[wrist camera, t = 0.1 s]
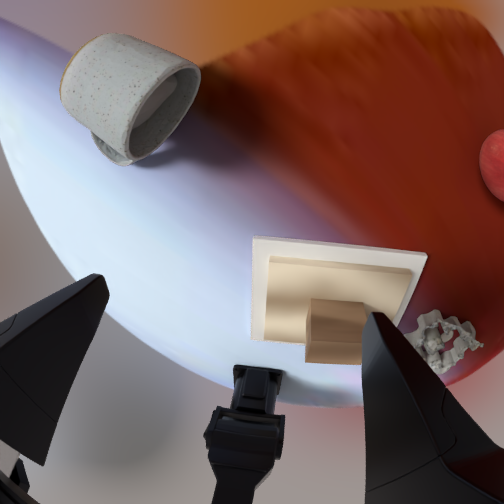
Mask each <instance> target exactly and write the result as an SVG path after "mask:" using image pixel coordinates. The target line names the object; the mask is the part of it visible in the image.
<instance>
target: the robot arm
mask: <svg viewBox="0 0 504 504" xmlns="http://www.w3.org/2000/svg"><path fill="white" fill-rule="evenodd" d="M109 296H110V294H109V290H108V287H107V284H106V281H105V278H104V276H103V275H100V274H95V273H94V274H91V275H89V276H87V277H85V278H83V279H81V280H79V281H77V282H75V283H73V284H71V285H69V286H67V287H65V288H63V289H61V290H60V291H57V292H55V293H53V294H52V295H50V296H48V297H46V298H44V299H42V300H40V301H39V302H37V303H35V304H33V305H31V306H30V307H27V308H26V309H24V310H22V311H20V312H19V313H18V314H15V315H13V316H11V317H10V318H8V319H6V320H4V321H2V322H0V504H40V503H38V502H37V501H36V500H34V499H33V498H32V497H31V496H29V495H28V494H27V493H28V490H29V487H30V485H29V482H28V478H27V475H26V472H25V468H24V464H23V461H22V460H21V459H20V458H19V455H20V453H21V454H22V455H24V456H26V457H27V458H29V459H30V460H32V461H34V462H36V463H37V464H39V465H41V466H44V464H45V461H46V457H47V454H48V450H49V447H50V444H51V441H52V438H53V435H54V432H55V429H56V426H57V422H58V420H59V417H60V414H61V412H62V409H63V406H64V404H65V401H66V399H67V396H68V394H69V391H70V388H71V386H72V384H73V381H74V379H75V377H76V374H77V372H78V370H79V367H80V365H81V363H82V361H83V359H84V356H85V354H86V352H87V350H88V348H89V345H90V343H91V342H92V340H93V337H94V335H95V333H96V331H97V328H98V325H99V323H100V320H101V318H102V315H103V312H104V310H105V308H106V305H107V303H108V300H109ZM282 374H283V372H282V371H280V370H272V369H263V368H255V367H247V366H240V365H234V367H233V375H234V393H233V397H232V401H231V406H230V409H229V408H223V407H221V406H217V408H216V410H214V411H213V414H212V418H211V421H210V423H209V425H208V427H207V429H206V430H205V432H204V435H203V437H204V438H205V440H206V448H207V449H208V450H209V452H208V459H209V462H210V464H211V467H212V469H213V472H214V474H215V477H216V479H217V484H216V488H215V491H214V496H213V500H212V504H252V502H253V497H254V491H255V490H256V489H257V488H258V487H259V486H260V485H261V484H262V483H263V482H264V480H265V479H266V478H267V477H268V476H269V475H270V473H271V471H272V469H273V466H274V462H275V460H280V457H281V454H282V448H283V439H284V427H285V426H284V425H285V415H274V410H275V402H276V395H278V394H279V390H280V385H281V380H282ZM362 389H363V402H364V418H365V441H366V486H365V487H366V488H365V491H366V492H365V504H504V449H503V448H501V447H499V446H498V445H496V444H495V443H494V442H493V441H492V440H491V439H490V438H489V437H488V435H487V434H486V433H485V432H484V431H483V430H482V429H481V428H480V426H479V425H478V424H477V423H476V422H475V421H474V420H473V419H472V418H471V416H470V415H469V414H468V413H467V412H466V411H465V410H464V408H463V407H462V406H461V405H460V404H459V402H458V401H457V400H456V399H455V397H454V396H453V395H452V393H451V392H450V391H449V390H448V389H447V388H446V386H445V385H444V383H443V382H442V381H441V380H440V378H439V377H438V376H437V375H436V373H435V372H434V371H433V370H432V368H431V367H430V366H429V365H428V364H427V362H426V361H425V360H424V359H423V357H422V356H421V355H420V354H419V353H418V352H417V350H416V349H415V348H414V347H413V346H412V344H411V343H410V342H409V341H408V340H407V339H406V337H405V336H404V335H403V334H402V333H401V332H400V330H399V329H398V328H397V327H396V326H395V325H394V324H393V322H392V321H391V320H390V319H389V318H388V317H387V316H386V315H385V314H384V313H383V312H374V311H373V312H371V313H370V314H369V316H368V319H367V321H366V323H365V326H364V328H363V331H362Z"/></svg>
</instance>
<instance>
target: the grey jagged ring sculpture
mask: <svg viewBox="0 0 504 504" xmlns="http://www.w3.org/2000/svg"><path fill="white" fill-rule="evenodd" d="M417 322H418V325H419V327H418V329H417V330H415V331H414V332H412V333H406V334H404V336H405V337H406V339H407V340H408V341H409V342H410V343H411V344H412V346H413V347H414V348H415V349H416V350H417V352H418V353H419V354H420V355H421V356H422V357H423V359H424V360H425V361H426V362H427V364H428V365H429V366H430V367H431V368H432V370H433V371H434V372H435V373H437V374H443V373H444V372H446V371H448V370H449V369H450V368H451V367H452V366H454V365H456V362H457V361H458V360H459V359H463V358H464V351H465V350H466V349H467V348H468V347H469V348H470V349H471V350H472V351H474V350H475V349H477V347H478V346H480V347H483V346H484V343H479V342H478V341H476V340H475V334H476V332H475V329H474V327H473V326H472V324H471V323H470V322H469V321H466V322H464V323H463V324H460V323H459V321H458V319H457V317H454V316H450V317H449V318H447V319H445V320H443V318H442V316H441V313H440V311H438V310H433V311H431V312H430V313H427V314H421V315H420V316H419V318H418V319H417ZM438 322H440V324H441V326H442V328H443V331H444V333H442V334H441V335H440V333H439V331H438V328H437V327H438ZM455 329H457V330H458V332H459V334H460V336H459V337H458V338H456V339H455V341H454V342H453V345H454V347H453V348H452V349H451V350H450V351H445V352H443V353H442V354H441V355H439V352H438V350H440V349H444V347H445V345H444V342H447V341H449V340H450V339H451V338H452V336H453V330H455ZM422 345H424V346H425V349H426V351H425V352H423V350H422V347H421V346H422Z"/></svg>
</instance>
